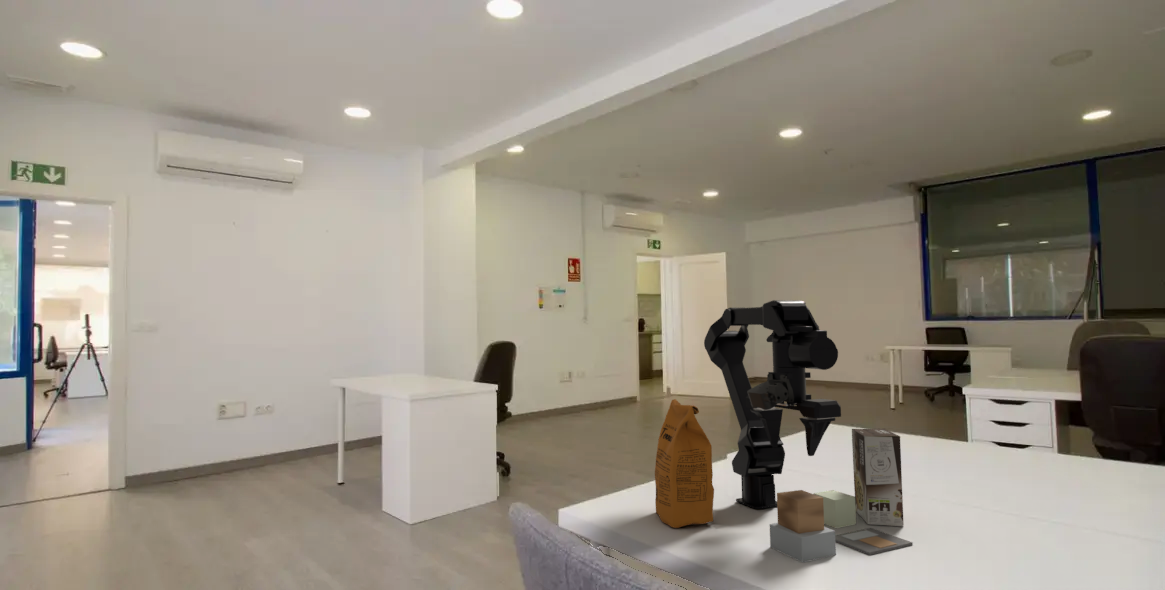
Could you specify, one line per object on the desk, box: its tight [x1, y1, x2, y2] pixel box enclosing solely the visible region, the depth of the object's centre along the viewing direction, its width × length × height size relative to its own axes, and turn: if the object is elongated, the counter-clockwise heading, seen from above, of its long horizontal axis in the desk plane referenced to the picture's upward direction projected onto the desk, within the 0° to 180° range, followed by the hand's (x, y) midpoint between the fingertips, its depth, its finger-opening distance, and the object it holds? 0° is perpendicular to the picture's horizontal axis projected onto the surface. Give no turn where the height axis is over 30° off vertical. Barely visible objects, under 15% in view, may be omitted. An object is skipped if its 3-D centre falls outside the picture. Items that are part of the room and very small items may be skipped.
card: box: [835, 527, 914, 556], centre depth 97 cm, size 8×10×1 cm
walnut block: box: [776, 489, 825, 534], centre depth 94 cm, size 5×5×5 cm
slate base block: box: [769, 522, 837, 563], centre depth 94 cm, size 7×7×4 cm
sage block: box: [813, 489, 857, 529], centre depth 108 cm, size 5×5×5 cm
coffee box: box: [851, 428, 904, 527], centre depth 110 cm, size 9×6×16 cm
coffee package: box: [654, 398, 715, 529], centre depth 111 cm, size 10×12×22 cm
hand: (791, 451), depth 108 cm, fingers open, 9 cm apart
